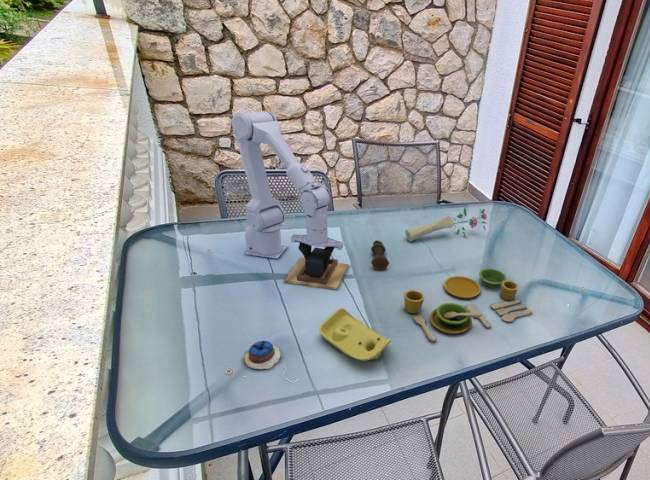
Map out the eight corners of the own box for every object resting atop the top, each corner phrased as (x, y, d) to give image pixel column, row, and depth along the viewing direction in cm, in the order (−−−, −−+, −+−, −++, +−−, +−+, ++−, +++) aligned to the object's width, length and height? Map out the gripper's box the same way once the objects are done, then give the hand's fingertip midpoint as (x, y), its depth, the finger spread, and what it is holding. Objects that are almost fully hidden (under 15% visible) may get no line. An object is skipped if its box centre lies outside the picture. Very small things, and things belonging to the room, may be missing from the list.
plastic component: (315, 329, 109) (343, 303, 114) (327, 344, 115) (354, 318, 120) (365, 366, 101) (394, 335, 106) (376, 379, 107) (403, 350, 111)
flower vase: (407, 252, 171) (477, 226, 189) (420, 259, 162) (493, 231, 179) (399, 225, 166) (473, 201, 183) (412, 230, 157) (488, 205, 174)
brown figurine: (379, 252, 156) (382, 273, 144) (367, 246, 153) (368, 266, 141) (388, 240, 154) (391, 260, 143) (376, 234, 151) (378, 254, 140)
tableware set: (427, 345, 118) (430, 328, 114) (388, 291, 134) (389, 274, 131) (537, 315, 142) (542, 300, 139) (492, 272, 159) (496, 258, 156)
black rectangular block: (305, 275, 128) (305, 261, 126) (315, 260, 136) (314, 247, 133) (321, 277, 129) (320, 263, 127) (329, 262, 137) (329, 249, 134)
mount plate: (284, 282, 127) (284, 275, 125) (301, 259, 138) (300, 253, 137) (336, 289, 129) (336, 283, 128) (348, 266, 141) (348, 260, 140)
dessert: (248, 343, 103) (262, 330, 101) (274, 355, 106) (287, 342, 105) (236, 368, 97) (251, 355, 95) (264, 380, 100) (278, 367, 98)
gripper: (345, 224, 129) (345, 262, 136) (295, 216, 127) (298, 255, 134) (339, 235, 123) (339, 273, 131) (287, 226, 121) (290, 266, 128)
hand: (318, 265), depth 132 cm, fingers closed on black rectangular block, 4 cm apart
